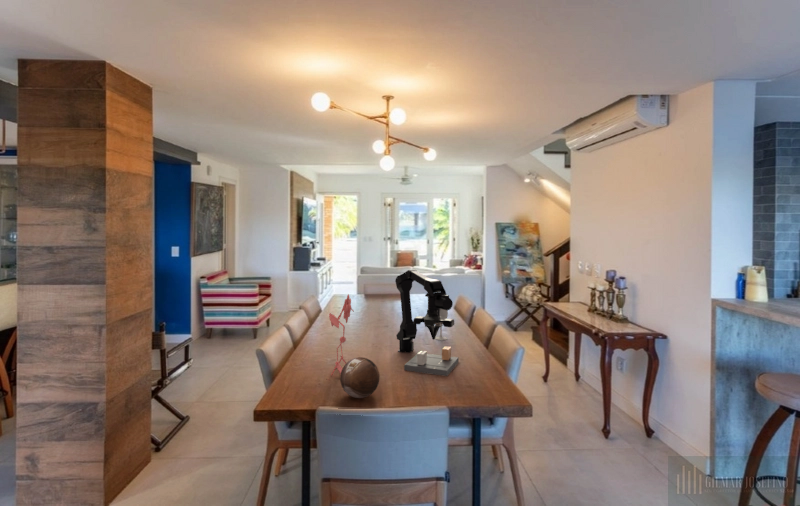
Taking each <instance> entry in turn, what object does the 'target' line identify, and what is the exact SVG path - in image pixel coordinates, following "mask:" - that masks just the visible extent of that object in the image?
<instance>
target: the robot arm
mask: <svg viewBox="0 0 800 506" xmlns="http://www.w3.org/2000/svg"><path fill="white" fill-rule="evenodd" d="M394 282H395V285H396V286H395V287H396V289H397V290H398V292H399V293H400V305H401V306H400V307H401V318H402V319H401V323H400V326H399V331H398V332H397V334H396V340H398V341H399V342H398V343H399V347H398V348H399V349H398V350H397V351H398V352H399V353H408V354H410V353H411V352H413V351H414V350H415V349H414V348H415V347H414V341H413V340H415V339H416V337H417V331H418V328H417V325H421V324H422V323H423V324H424V327H425V328H427V329H428V330H429V334H430V335H431V338H432V340H433V341H434V340H436V339H435V337H437V335H438V333H439V331H440V327H441V326H442V327H445V328H452V327H453V326H455V320H454V319H453V318H448V317H447V318H446V319H445V320H440V310H441V309H443V310H448V311H450V310H451V309H452V307H453V300H452V298H450V295H448V294H447V292H446V290H445V288H444V286H443V283H442V281H441V280H439V279H436V278H429V277H428V276H426V275H425V274H423V273H421V272H419V271H418V270H417V269H408V270H406V271H405V272H403V273H401V274H399V275H397V276H396V278H395V281H394ZM413 282H416V283H418V284H419V285H421V286H422V287H423V289H424V290H425V291H426V294H424V295H425V297H427V309H426V314H425V316H423V315H421V316H420V315H418V316H415V317H414V318H413V315H412V304H411V293H410V292H411V290H412V287H413Z"/></svg>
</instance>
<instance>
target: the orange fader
mask: <svg viewBox="0 0 800 506" xmlns="http://www.w3.org/2000/svg"><path fill="white" fill-rule="evenodd" d="M441 355H442V360H449V359H450V358H451V357H452V346H445V345H444V347H443V348H442V349H441Z"/></svg>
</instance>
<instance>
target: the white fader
mask: <svg viewBox="0 0 800 506" xmlns="http://www.w3.org/2000/svg"><path fill="white" fill-rule="evenodd" d="M427 354H428V351H427V350H420V351H419V352H417V353H416V355H417V365H424V364H425V363H426V362H427Z"/></svg>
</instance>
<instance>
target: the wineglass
mask: <svg viewBox="0 0 800 506" xmlns="http://www.w3.org/2000/svg"><path fill="white" fill-rule="evenodd" d="M448 311H449V310H443V309H441V310H440V320H445V319H446V318H447V319H448V316H449V312H448ZM442 329H443V326H441V327H440V328H439V331H440V334H439V336H436V337H435V339H434V340H437V341H446V340H448V338H447V337H446V336H443V334H442V331H443V330H442Z"/></svg>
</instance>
